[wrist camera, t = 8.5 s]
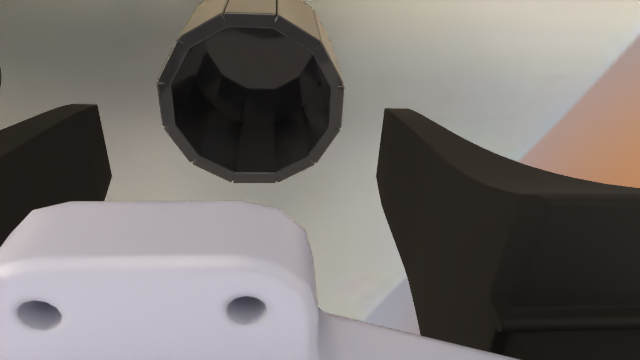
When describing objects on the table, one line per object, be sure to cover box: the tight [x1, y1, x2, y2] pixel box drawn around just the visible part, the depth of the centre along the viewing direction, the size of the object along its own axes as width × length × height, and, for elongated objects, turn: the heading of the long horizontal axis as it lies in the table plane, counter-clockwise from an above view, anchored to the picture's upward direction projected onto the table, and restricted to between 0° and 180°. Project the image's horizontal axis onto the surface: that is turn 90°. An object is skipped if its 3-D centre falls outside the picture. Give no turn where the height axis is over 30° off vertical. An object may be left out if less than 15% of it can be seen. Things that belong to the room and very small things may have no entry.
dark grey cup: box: [157, 0, 344, 183], centre depth 16 cm, size 5×5×5 cm
